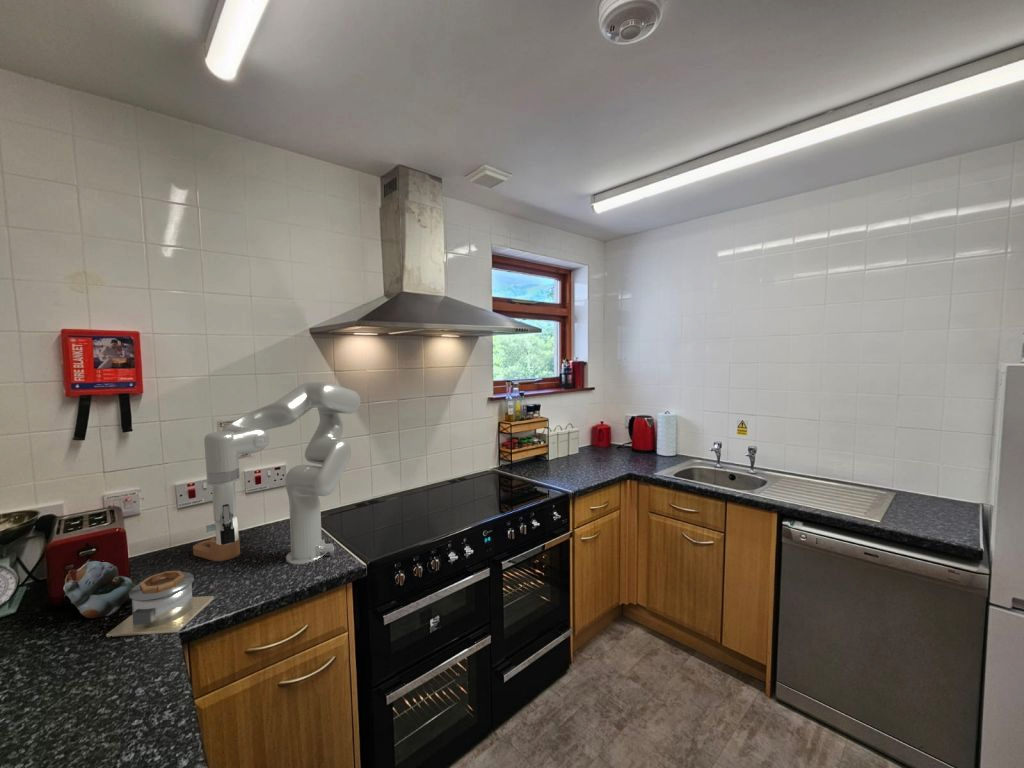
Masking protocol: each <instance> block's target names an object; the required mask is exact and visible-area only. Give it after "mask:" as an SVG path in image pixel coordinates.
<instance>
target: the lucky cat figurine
mask: <svg viewBox="0 0 1024 768" xmlns="http://www.w3.org/2000/svg"><path fill="white" fill-rule="evenodd" d="M100 561H101V560H100ZM100 561H97V560H92V559H89V558H88V560H86V562H84V563H83V564H82V566H81V567H79V568H77V569H70V570H68V574H66V577H65V579H64V585H63V591H64V593H65V595H66V597H68V598H69V600H70V603H71V604H73V605H74V606H75V607H76V608H77V610H79V613H80V614H81V615H82V616H83V617H85V618H86V619H98V618H101V617H109V616H110V615H112V614H114V613H116V612H117V611H118V610H119V609H120V608H121V607H122V605H124V604H125V603H126V602H127V601H129V600H131V599H130V598H129V592H130V590H131V589H132V588H133V587H135V583H134V582H133V580H132V579H131V578H130V577H127V576H124V575H119V570H118V567H117V566H115V565H114V564H113V563H112V564H111V563H109V562H100Z"/></svg>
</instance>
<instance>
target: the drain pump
mask: <svg viewBox="0 0 1024 768" xmlns="http://www.w3.org/2000/svg"><path fill="white" fill-rule="evenodd" d="M230 517H231V515H229V518H230ZM222 519H224V517H222ZM220 520H221V519H220ZM220 520H217V521H214V523H212V524H209V525H208V524H207V525H206V526H205V527H206V531H205V532H206V533H210V532H215V537H216V543H217V544H218V545H221V535H220V530H221V521H220ZM223 523H224V521H223ZM238 526H239V525H238V517H237V516H235V517H234V518H233V528H234V532H235V541H237V540H238V539H239V540H240V536H239V537H238V533H239V527H238ZM223 528H224V527H223ZM229 544H230V543H229ZM224 545H225V544H224Z"/></svg>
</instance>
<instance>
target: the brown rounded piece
mask: <svg viewBox="0 0 1024 768" xmlns="http://www.w3.org/2000/svg"><path fill="white" fill-rule="evenodd" d="M238 537H239V539H238V540H237V541H235V542H233V543H230V544H225V545H218V544H217V543H216V536H213V537H211V538H210V539H207V540H203V541H200V542H198V543H195V544H194V545H193V546H192V552H193V553H192V554H193V556H195V557H199V558H203V559H206V560H209V561H214V562H222V561H228V560H232V559H234V558H236V557H238V556H240V554H241V549H240V542H241V541H240V533H239V532H238Z"/></svg>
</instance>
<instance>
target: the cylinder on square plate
mask: <svg viewBox="0 0 1024 768" xmlns="http://www.w3.org/2000/svg"><path fill="white" fill-rule="evenodd" d="M194 577H195V576H194V574H193V573H191V572H186V571H181V570H170V571H169V570H167V571H164V572H160V573H157V574H153V575H149V576H148V577H146V579H144V580H143V581H141V582H140V583H138V584H137V585H134V587H133V588H132V589H131V590H130V592H129V598H130V599H129V600H131V605H132V606H131V608H132V609H131V610H132V614H131V615H130V616H128V617H127V618H126V619H124V620H123V621H122V622H120V623H119V624H118V625H116V626H115V627H114V628H112V629H111V630H110V631H108V632H106V633H105V636H106V638H109V637H111V636H112V637H124V636H127V637H128V636H139V635H141V636H143V635H154V634H170V633H171V634H172V633H179V631H180V630H182V629H183V628H184V627H185V626H186V625H187V624H188V623H189V622H190V621H192V620H193V618H195V617H196V616H197V615H198V614H199V613H200V612H202V611H203V609H205V608H206V606H208V605H209V604H210V603H211V602H212V601H213V600H214V599H215V596H214V595H208V596H207V595H204V596H193V586H192V585H193V584H192V583H193V582H194ZM112 637H111V638H112Z"/></svg>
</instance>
